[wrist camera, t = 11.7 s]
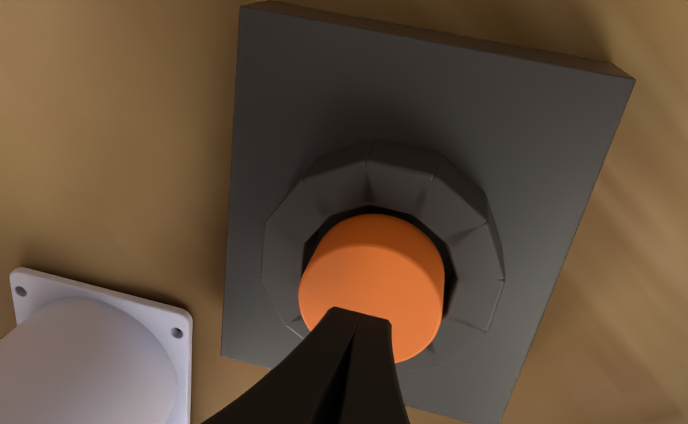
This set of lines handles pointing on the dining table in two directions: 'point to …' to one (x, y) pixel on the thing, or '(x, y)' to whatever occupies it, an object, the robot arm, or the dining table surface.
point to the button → (378, 278)
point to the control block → (411, 181)
